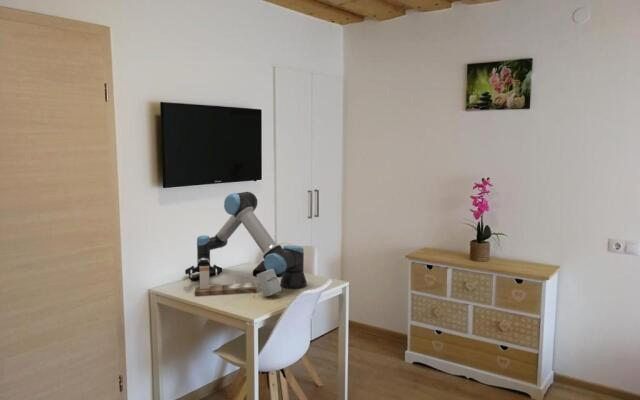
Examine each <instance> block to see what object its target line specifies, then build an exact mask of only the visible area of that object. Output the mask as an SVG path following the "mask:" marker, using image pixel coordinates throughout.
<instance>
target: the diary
mask: <svg viewBox="0 0 640 400" xmlns="http://www.w3.org/2000/svg"><path fill="white" fill-rule="evenodd" d="M264 264H265V263H264V260H262V261H261V262H259V264H258V265H257V266H256V267H255V268H254V269H252V277H255V276H256V277H257V274H260V273H262V272H265V271H267V270H266V268H265V266H264ZM282 275H283V273H281V274H276V276H277V278H282Z"/></svg>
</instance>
